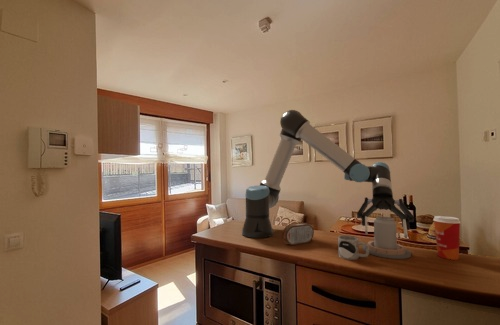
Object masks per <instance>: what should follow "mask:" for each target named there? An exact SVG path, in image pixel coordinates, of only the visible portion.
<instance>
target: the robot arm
mask: <svg viewBox="0 0 500 325" xmlns="http://www.w3.org/2000/svg"><path fill="white" fill-rule="evenodd" d="M279 124H280V127H281V131H280V133H279V136H280V141H279V143H278V145H277V147H276V151H275V154H274V156H273V158H272V161H271V164H270V165H269V168H268V171H267V173H266V176H265V178H264V179H263V180H261V181H260V183H259V185H253V186H248V187H247V188H246V190H245V194H244V195H245V220H244V222H243V225H242V226H243V227H242V229H241V235H242V234H243V235H242V236H244V237H247V238H252V239H255V238H256V239H261V238H269V237H272V236H273V235H274V229H273V227H272V222H271V219H270V209H271V208H273V207H275V206H276V205H277V203H278V202H279V200H280V199H279V198H280V193H281V189H282V188H281V186H280V185H281V183H282V179H283V178H284V175H285V173H286V170H287V168H288V165H289V163H290V161H291V158H292V156H293V153H294V150H295V148H296V145H298V144H300V143H301V141H304V143H306V144H307V145H308V146H310V147H311V148H312V149H314V150H315V151H316V152H317V153H319V154H320V155H321V156H323V157H324V158H325V159H326V160H327V161H329V162H330V163H331V164H333V165H334V166H335V167H336V168H338V169H339V170H340V171H341V172H343V173H344V174H343V175H344V180H345V181H349V182H356V183H366V182H367V183H371V188H372V198H368V197H364V202H363V203H362V204H361V206H360V208H359V210H358V211H357V213H356V216H357V218H358V219H361V226H363V227H364V231H365V232H364V233H365V235H368V234H369V233H368V232H369V230H368V218H369V217H370V216H371V215H372V214H373V213H374V212H375V211H377V210H386V211H387V210H389V211H390V212H392V213H393V214H394V215H395V216H396V217H397V218H399V219H400V220H402V229H403V236H404V239H408V237H409V233H408V231H409V230H410V229H411V224H410V223H414V221H415V216H414V215H413V213H411V211H410V210H409V209H408V207H407V206H406V205H405V203H404V201H403V198H399V199H397V200H396V199H394V195H393V187H392V179H391V178H392V177H391V170H390V167H389V165H388V164H387V163H385V162H381V161H379V162H375V163H374V164H372V165H371V166H368V165H365V164H364V163H361V161H359V160H358V159H356V158H355V157H353V156H352V155H351V154H350V153H348V152H347V151H345V149H343V148H342V147H341V146H339V145H338V144H336V143H335V142H334V141H333V140H331V139H330V138H328V137H327V136H326V135H324V134H323V133H322V132H321V131H319V130H318V129H316V128H315V127H314V126H313V125H311V121H310V120H308V119H307V117H305V116H304V115H302V113H301V112H300V111H298V110H295V109H289V110H287V111H285V112H283V114H282V115H281V117H280V123H279ZM370 204H372V205H371V206H370V207H369V208H368V205H370ZM396 205H397V207H396ZM398 207H399V208H398Z"/></svg>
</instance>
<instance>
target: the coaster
mask: <svg viewBox="0 0 500 325" xmlns="http://www.w3.org/2000/svg"><path fill="white" fill-rule="evenodd" d="M366 244H368V247H369V255H372V256H375V257H378V258H379V257H380V258H384V259H390V260H404V259H407V260H408V259H410V258H411V257H412V253H411V252H412V251H410V250H408V249H407V248H406V246H403V245H402V244H399V243H397V249H396V250H391V249H383V248H378V247H375V246H374V240H369V241H368V242H366ZM361 246H362V250H363V252H365V253H366V248H365V246H363V245H361Z"/></svg>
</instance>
